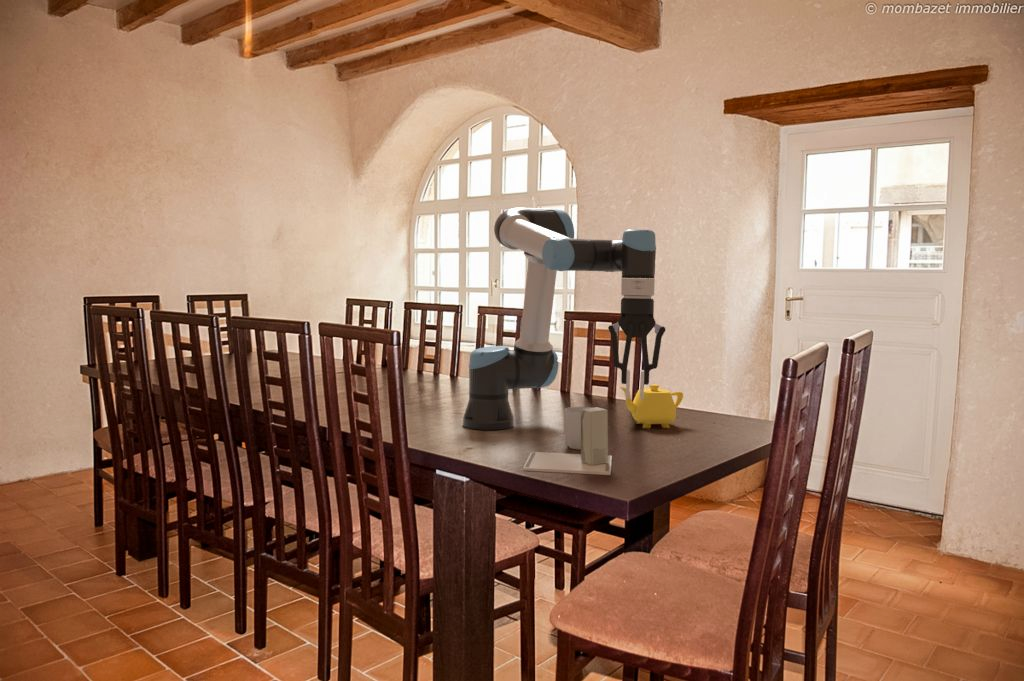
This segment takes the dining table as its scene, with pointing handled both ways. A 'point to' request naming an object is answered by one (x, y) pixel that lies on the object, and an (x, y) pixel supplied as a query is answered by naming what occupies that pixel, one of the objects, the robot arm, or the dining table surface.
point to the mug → (573, 426)
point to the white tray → (564, 464)
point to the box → (594, 435)
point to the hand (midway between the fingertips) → (634, 397)
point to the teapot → (654, 406)
